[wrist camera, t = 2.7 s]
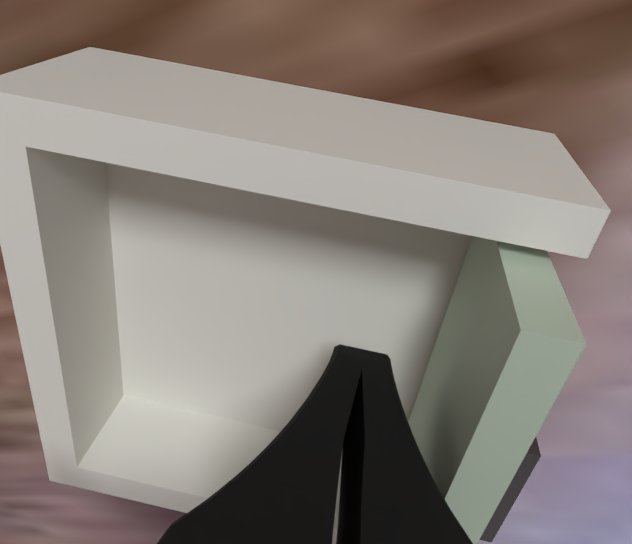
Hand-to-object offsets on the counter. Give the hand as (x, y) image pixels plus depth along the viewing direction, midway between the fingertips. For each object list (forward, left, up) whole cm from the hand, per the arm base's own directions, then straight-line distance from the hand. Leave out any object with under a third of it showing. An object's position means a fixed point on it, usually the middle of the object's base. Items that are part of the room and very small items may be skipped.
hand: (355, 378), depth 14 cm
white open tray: (+2, +1, -4) cm, 4 cm away
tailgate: (-3, -1, -2) cm, 3 cm away
